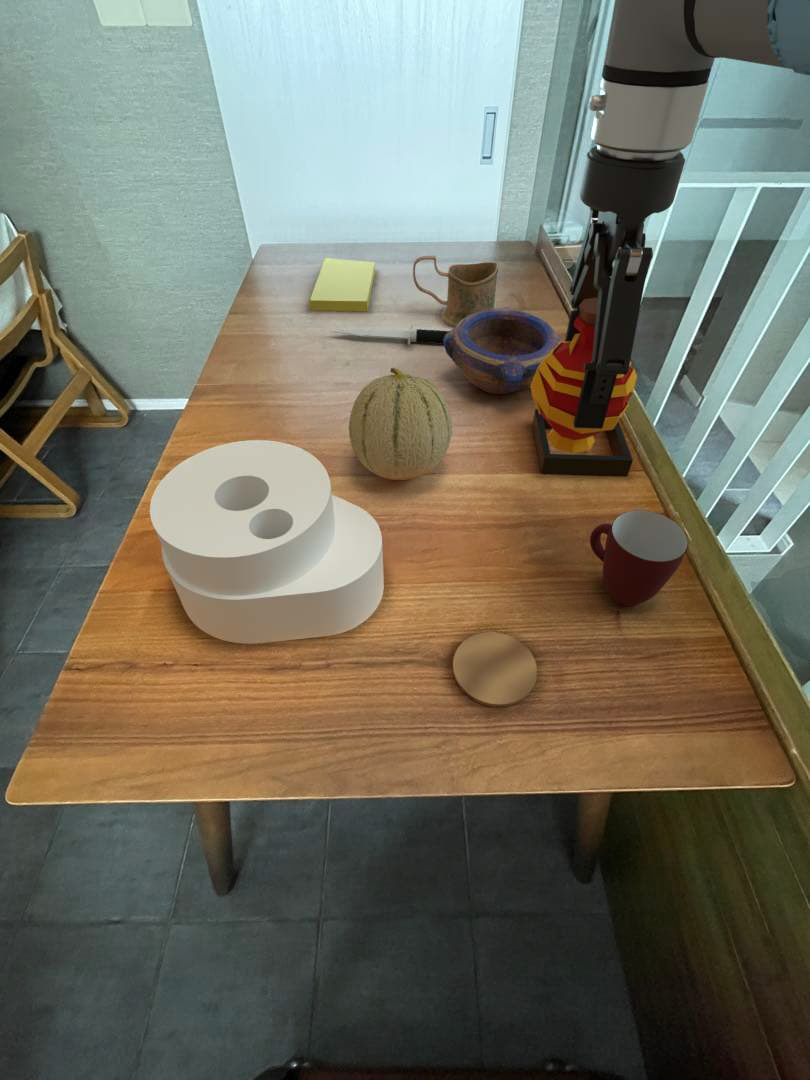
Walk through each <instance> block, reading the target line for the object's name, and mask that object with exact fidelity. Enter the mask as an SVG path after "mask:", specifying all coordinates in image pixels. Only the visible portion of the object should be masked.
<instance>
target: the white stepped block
mask: <svg viewBox="0 0 810 1080" xmlns="http://www.w3.org/2000/svg"><path fill="white" fill-rule="evenodd" d="M331 484H332V483H331V480H330V476H329V473H328V470H327V469H326V467H325V466H324V464H323V463H322V462H321V461H320V460H319V459H318V458H317V457H315V455H313V454H312V453H310V452H309V451H306V450H305V449H303V448H301V447H298V446H295V445H293V444H289V443H286V442H282V441H275V440H268V439H267V440H265V439H263V440H262V439H252V440H251V439H250V440H240V441H232V442H228V443H223V444H219V445H216V446H213V447H210V448H208V449H205V450H202V451H200V452H198V453H195V454H193V455H192V456H189V457H188V458H186V459H184V460H183V461H181V462H180V463H178V464H177V465H176V466H175V467H173V468H172V469H171V470H170V471H169V472H167V473H166V475H165V476H163V478H162V479H161V480H160V482H159V483H158V484H157V486H156V488H155V490H154V492H153V494H152V496H151V499H150V503H149V516H150V521H151V523H152V526H153V528H154V531H155V533H156V535H157V538H158V540H159V542H160V545H161V557H162V561H163V563H164V566H165V569H166V570H167V573H168V576H169V577H170V580H171V582H172V584H173V586H174V589H175V591H176V594H177V596H178V598H179V600H180V602H181V605H182V607H183V609H184V611H185V613H186V615H187V617H188V618H189V620H190V621H191V622H192V624H194V625H195V626H196V627H197V628H198V629H199V630H200V631H202V632H204V633H205V634H207V635H209V636H210V637H213V638H216V639H218V640H221V641H225V642H229V643H233V644H234V643H235V644H243V645H244V644H245V645H253V644H255V645H256V644H266V643H267V644H268V643H274V642H285V641H295V640H306V639H314V638H322V637H332V636H336V635H340V634H343V633H346V632H349V631H351V630H353V629H354V628H357V627H359V626H360V625H361V624H363V623H364V622H366V621H367V620H368V619H369V618H370V617H371V616H372V615H373V614H374V613H375V611H376V610H377V608H378V607H379V606H380V604H381V601H382V599H383V596H384V590H385V575H384V556H383V555H384V552H383V551H384V550H383V536H382V531H381V529H380V526H379V524H378V522H377V521H376V519H375V518H374V517H373V516H372V515H371V514H370V513H369V512H368V511H366V510H365V509H363V508H362V507H360V506H358V505H356V504H354V503H351V502H349V501H347V500H345V499H343V498H341V497H339V496H336V495H334V494H332V493H333V492H332V485H331Z"/></svg>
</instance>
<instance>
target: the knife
mask: <svg viewBox="0 0 810 1080" xmlns="http://www.w3.org/2000/svg"><path fill="white" fill-rule="evenodd" d="M449 331H450V330H439V329H436V330H435V329H421V328H413V325H412V324H411V325H409V329H408V330H401V331H400V330H383V329H382V330H381V329H368V328H367V329H366V328H344V329H337V330H331V331H329V333H334V334H342V335H351V336H358V337H363V338H364V337H365V338H380V339H397V340H407V346H409V347H410V346H411V343H421V344H422V343H423V344H437V345H439V344H441V345H444V342H443V339H444V336H445V335H446V334H447V333H448V332H449Z"/></svg>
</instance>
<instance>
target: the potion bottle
mask: <svg viewBox="0 0 810 1080" xmlns="http://www.w3.org/2000/svg"><path fill="white" fill-rule="evenodd" d="M597 303H598V298H590V299H584V300H583V301H582V303H581V304H580V305H579V309H580V315H579V316H578V317H577V319H576V320H575V321H574V326H575V328H576V329H577V330H579V331H580V333H578V334H575V335H574V337H573V339H572V341H565V340H564V341H563V342H560V343H559V344H558V345H557V346H556V347H555V348H554V349H553V350H552V351H551V352H550V353H549V354H548V355H547V356H546V357H545V358H544V359H543V361H542V362H541V364H540V365H539V366H538V368H537V370H536V373H535V375H534V378H533V380H532V383H531V385H530V387H529V388H530V391H531V397H532V399H533V400H532V401H533V402H534V404H535V406H536V409H538V413H539V415H540V414H542V416H543V417H544V418H545V420H546V421H547V422H548V423H549V425H550V426H551V427H552V429H550V431H549V433H548V434H547V437H546V438H547V439H548V443H550V445H551V446H552V447H553V448H554V449H556V450H560V451H564V452H567V453H569V454H577V453H582V452H587V451H591V448H592V447H593V445H594V443H595V441H596V440H595V438H594V436H596V435H599V434H602V433H604V432H606V430H613V429H614V427H615V426H616V424H617V422H618V421H619V422H620V419H621V418H622V417H623V415H624V414H625V412H626V410H627V408H628V407H629V405H630V403H629V400H630V399H631V397H632V395H633V393H634V390H635V387H636V383H637V379H638V375H637V372H636V370H635V368H634V367H633V366H632V365H633V363H632V361H631V360H630V365H629V366H630V367H629V370H628V373H627V374H626V375H622V374H620V375H619V374H617V377H616V381H615V385H614V388H613V392H612V395H611V399H610V403H609V406H608V410H607V413H606V417H605V421H604V424H603V428H602V429H601V428H574V424H573V423H574V419H575V415H576V410H577V406H578V402H579V397H580V393H581V389H582V385H583V380H584V376H585V372H586V370H583V364H584V363H591V361H592V354H593V344H594V333H595V323H596V313H597ZM579 336H580V337H579Z"/></svg>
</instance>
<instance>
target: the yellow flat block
mask: <svg viewBox="0 0 810 1080" xmlns="http://www.w3.org/2000/svg"><path fill="white" fill-rule="evenodd" d="M375 275H376V262H375V261H365V260H353V259H344V258H332V257H331V258H330V257H325V258H324V260H323V263H322V265H321V268H320V270H319V273H318V276H317V280H316V282H315V283H314V288H313V291H312V292H311V295H310V298H309V306H310V311H311V312H312V311H313V312H317V311H318V312H368V311H369V306H370V300H371V295H372V290H373V287H374V286H373V285H374V280H375Z"/></svg>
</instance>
